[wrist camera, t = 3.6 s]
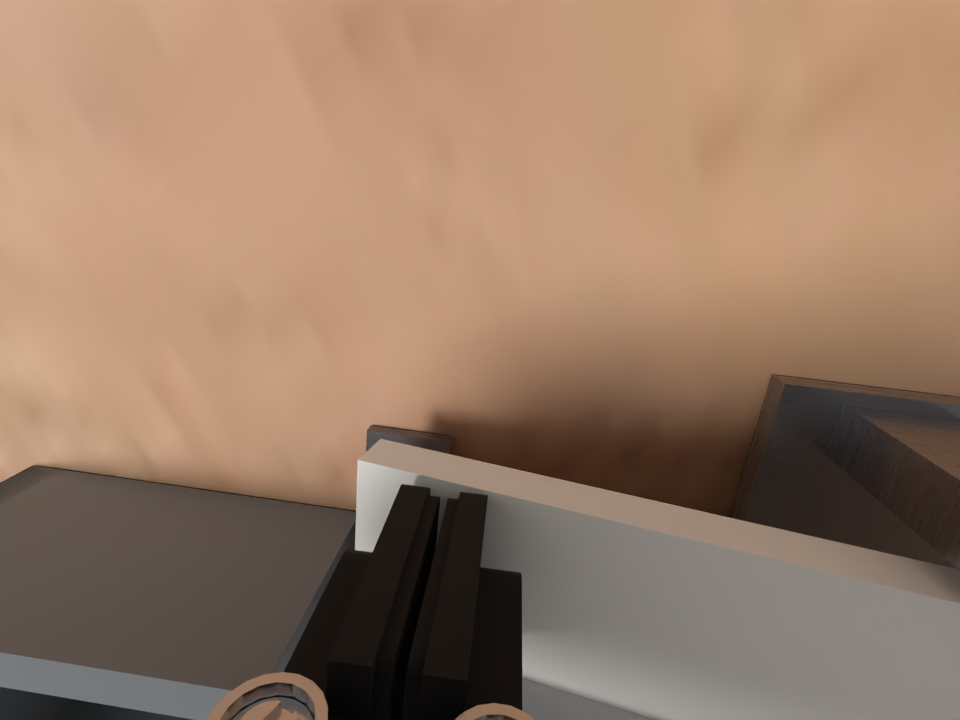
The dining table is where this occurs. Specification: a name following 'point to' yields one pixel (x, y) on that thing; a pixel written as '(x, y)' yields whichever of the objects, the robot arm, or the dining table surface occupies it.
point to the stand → (840, 466)
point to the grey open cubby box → (150, 593)
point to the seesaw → (691, 604)
